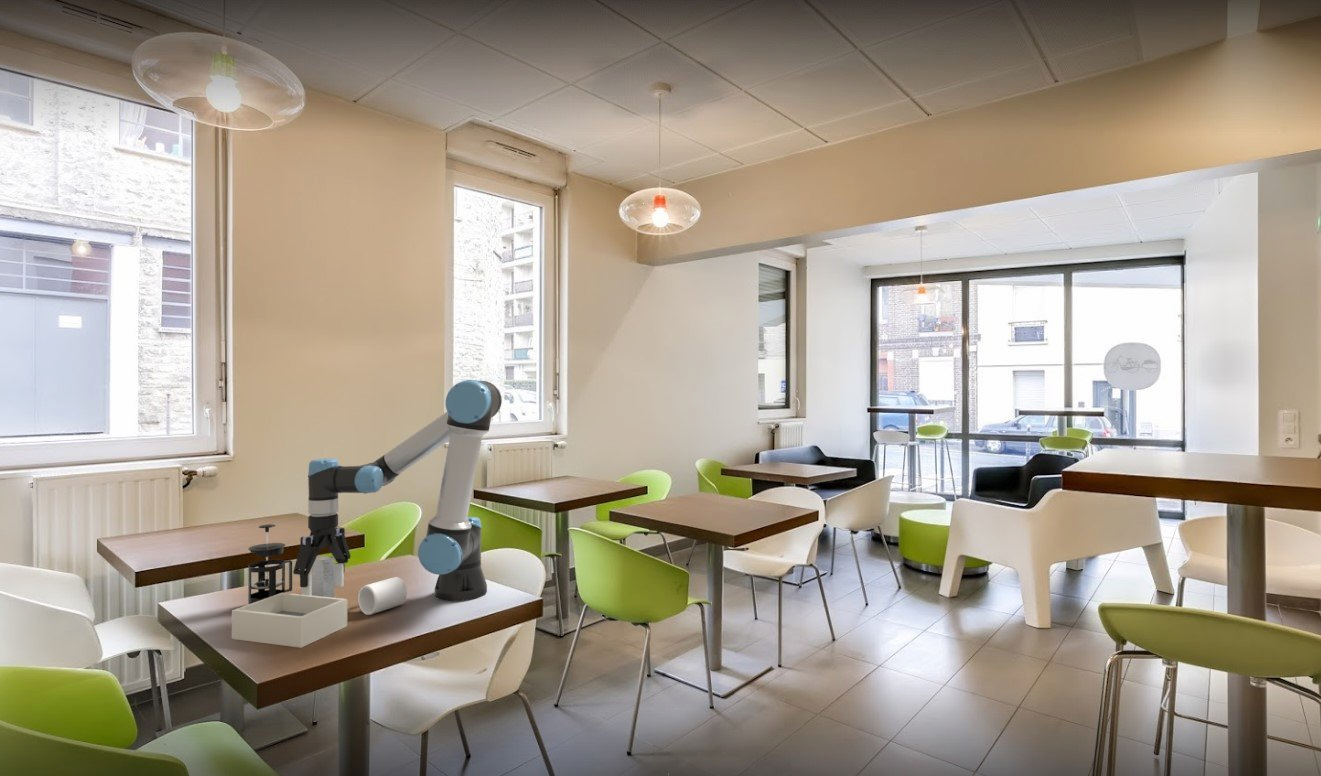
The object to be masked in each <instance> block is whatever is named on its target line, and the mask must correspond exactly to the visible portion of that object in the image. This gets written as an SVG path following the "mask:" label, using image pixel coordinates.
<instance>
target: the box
mask: <svg viewBox="0 0 1321 776" xmlns="http://www.w3.org/2000/svg"><path fill="white" fill-rule="evenodd" d="M346 627H348V599H347V598H341V597H334V598H332V597H322V596H312V595H302V594H301V593H300V594H299V593H290V592H285V593H280V594H277V595H274V596H271V597H268V598H266V599H263V600H260V601H257V602H254V603H251V604H249V605H248V604H246V605H244V606H241V607H237V608H235V609H232V610H231V639H232V640H238V641H244V642H245V641H246V642H252V643H253V642H254V643H262V644H269V645H277V646H283V647H284V646H285V647H292V648H300V649H301V648H303V647H306V646H308V645H310V644H311V643H314V642H317V641H318V640H320V639H323V638H325V637H327V636H329V635H331V634H334V633H335V632H337V631H340V630H342V629H344V628H346Z"/></svg>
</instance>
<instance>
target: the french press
mask: <svg viewBox="0 0 1321 776" xmlns="http://www.w3.org/2000/svg"><path fill="white" fill-rule="evenodd" d="M274 527H276V524H272V523H271V524H270V523H269V524H261V525H259V526H258V528H259V529H264V532H265V534H266V535H265V536H266V537H265V538H266V539H265V540H266V542H265V543H262V544H256V545H252V546H250V547H248V551H250V553H251V554H255V555H256V556H257V557H259V558H265V559H266V560H260V561H256V562H253V563H250V564H248V578H247V579H248V591H247V592H248V602H247V603H248V604H247V605H249V604H251V603H254V602H257V601H260V600H263V599H266V598H268V597H271V596H274V595H277V594H280V593H290V592H292V591H293V560H291V559H288V560H287V559H286V560H285V559H284V560H283V559H269V558H270V557H275V556H280V555H282V554H283V553H284V548H285V547H286V543H282V542H271V543H270V542H269V533H270V528H274ZM287 563H288V589H286V564H287ZM269 565H272V566H269ZM279 570H281V579H280V578H277V571H279ZM252 573H258V575H257V581H254V582H253V583H252ZM278 587H281V589H277V588H278ZM252 590H257V591H256V592H253V593H252Z"/></svg>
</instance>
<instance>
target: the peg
mask: <svg viewBox="0 0 1321 776" xmlns="http://www.w3.org/2000/svg"><path fill="white" fill-rule="evenodd" d="M334 563H335V558H334V557H333V556H326V555H325V556H324V555H323V556H319V557H316V559H315V562H314V564H313V566H312V568H311V574H312V596H322V597H332V598H335V586H334Z"/></svg>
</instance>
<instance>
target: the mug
mask: <svg viewBox="0 0 1321 776" xmlns="http://www.w3.org/2000/svg"><path fill="white" fill-rule="evenodd" d="M407 592H408V591H407V587H406V584H405V582H404V581H403V580H402V578H400V577H397V576H394V577H390V578H387V579H383V580H380V581H376V582H373V583H368V584H366V585H363V586H361V588H360V589H359V591H358V594H357V602H358V603H357V604H358V607H359V609H360V610H361V612H362V613H363V614H365V615H367V616H371V615H374V614H378V613H380V612H384V611H387V610H390V609H393V608H395V607H398V606H401V605H403V604H404V603H405V601H406V599H407V594H408V593H407Z"/></svg>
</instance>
